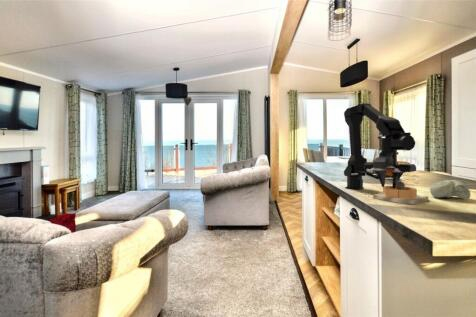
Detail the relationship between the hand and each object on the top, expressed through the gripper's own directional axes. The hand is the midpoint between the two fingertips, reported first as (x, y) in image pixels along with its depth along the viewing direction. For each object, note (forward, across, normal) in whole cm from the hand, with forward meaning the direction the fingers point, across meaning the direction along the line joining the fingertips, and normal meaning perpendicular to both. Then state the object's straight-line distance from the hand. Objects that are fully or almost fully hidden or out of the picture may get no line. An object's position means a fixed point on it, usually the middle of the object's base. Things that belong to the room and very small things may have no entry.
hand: (388, 187), depth 116 cm
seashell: (+4, +15, +17) cm, 23 cm away
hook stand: (+4, +5, 0) cm, 6 cm away
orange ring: (+3, +4, 0) cm, 5 cm away
